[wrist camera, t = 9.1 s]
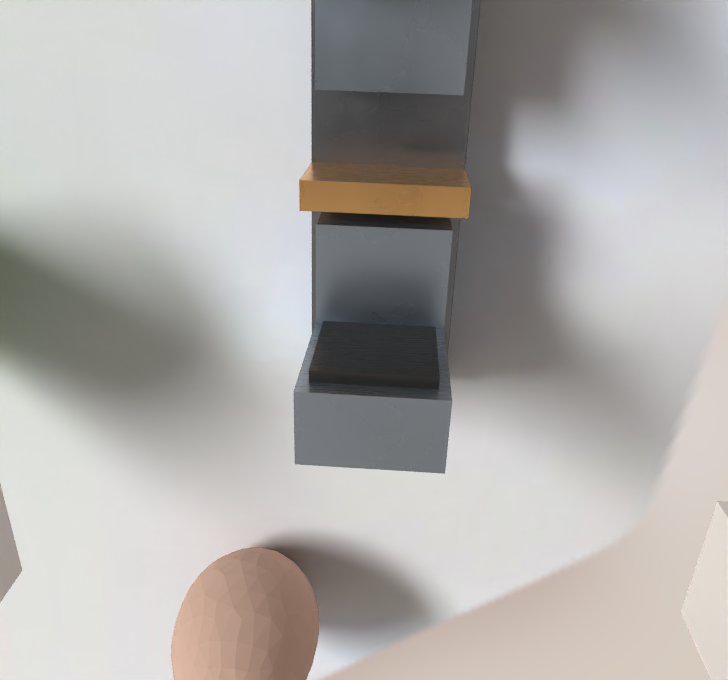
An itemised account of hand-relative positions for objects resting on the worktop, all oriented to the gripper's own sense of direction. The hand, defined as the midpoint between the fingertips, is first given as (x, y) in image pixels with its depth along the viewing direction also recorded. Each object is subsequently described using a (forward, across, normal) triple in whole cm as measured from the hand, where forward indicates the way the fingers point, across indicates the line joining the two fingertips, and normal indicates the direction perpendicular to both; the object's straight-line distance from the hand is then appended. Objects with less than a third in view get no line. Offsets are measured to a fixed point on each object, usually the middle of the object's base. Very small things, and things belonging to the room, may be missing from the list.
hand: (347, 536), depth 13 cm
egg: (+17, -5, -18) cm, 25 cm away
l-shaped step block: (+15, 0, -1) cm, 15 cm away
